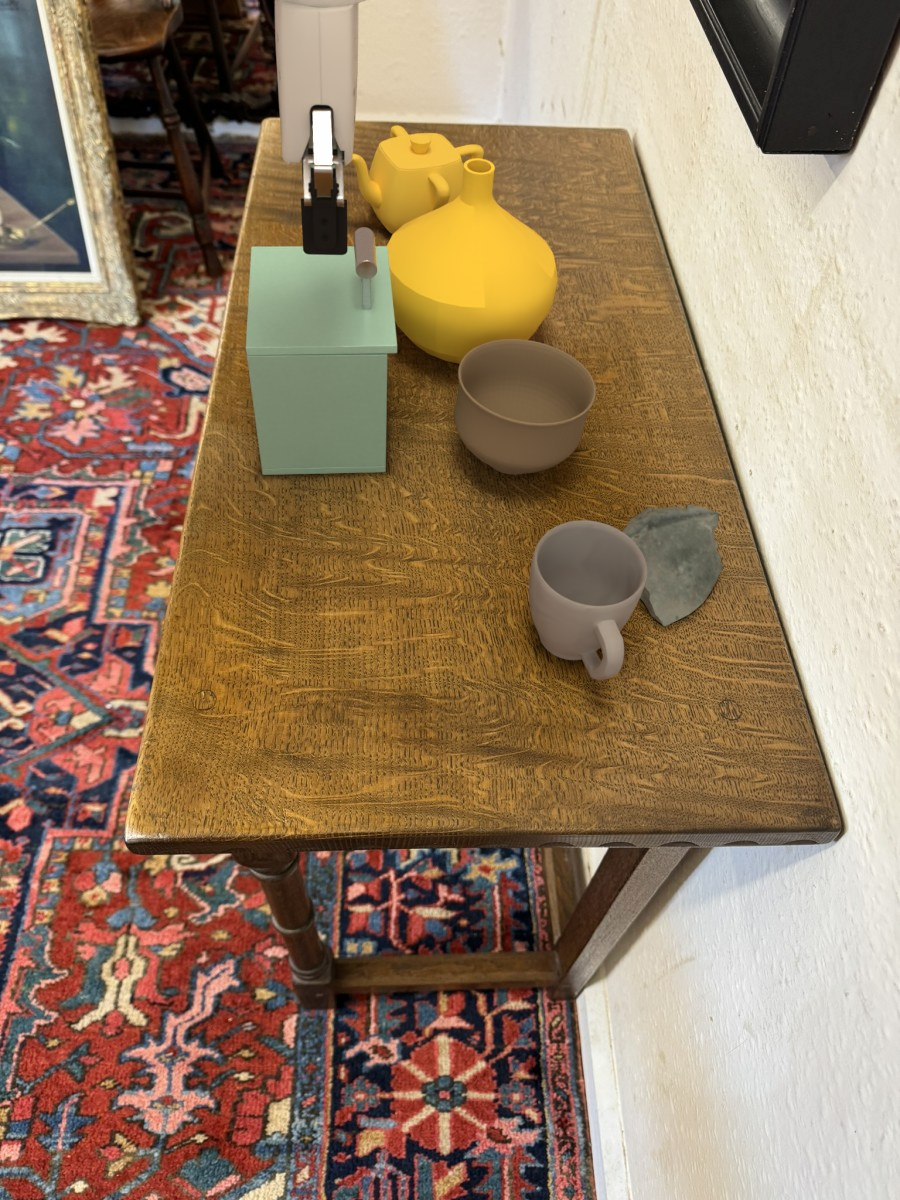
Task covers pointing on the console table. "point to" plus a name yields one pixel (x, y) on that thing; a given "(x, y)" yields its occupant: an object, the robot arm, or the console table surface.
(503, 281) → the vase
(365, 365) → the box
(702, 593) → the stone
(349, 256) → the lid
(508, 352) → the bowl
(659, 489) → the console table surface
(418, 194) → the teapot
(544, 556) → the mug
